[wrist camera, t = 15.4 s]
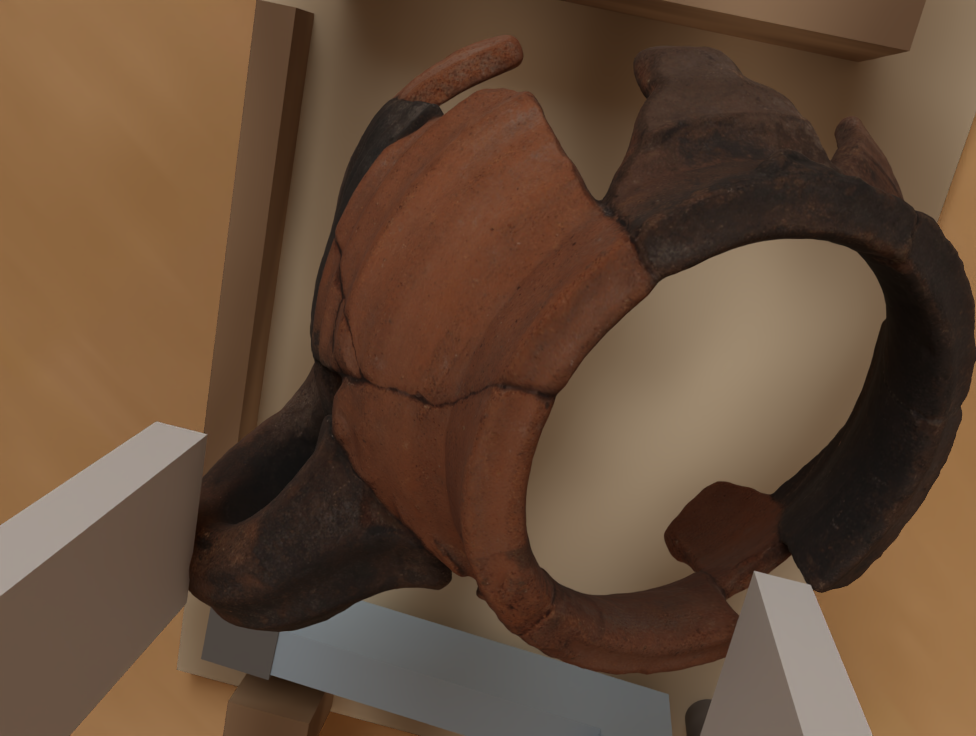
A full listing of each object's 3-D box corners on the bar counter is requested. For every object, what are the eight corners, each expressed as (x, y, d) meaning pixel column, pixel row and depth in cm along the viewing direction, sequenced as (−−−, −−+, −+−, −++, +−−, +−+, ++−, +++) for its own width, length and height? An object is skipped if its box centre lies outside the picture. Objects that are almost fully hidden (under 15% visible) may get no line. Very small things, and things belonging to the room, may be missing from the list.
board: (190, 652, 30) (110, 752, 26) (290, -137, 23) (207, -202, 19) (724, 795, 29) (745, 929, 24) (998, 5, 22) (1102, -26, 17)
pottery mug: (586, -118, 15) (933, -114, 9) (782, 275, 21) (1097, 476, 14) (40, 313, 16) (-49, 648, 9) (364, 593, 21) (466, 942, 14)
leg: (772, 704, 26) (803, 820, 22) (741, 780, 27) (764, 908, 23) (250, 545, 27) (181, 627, 23) (234, 624, 28) (165, 717, 24)
